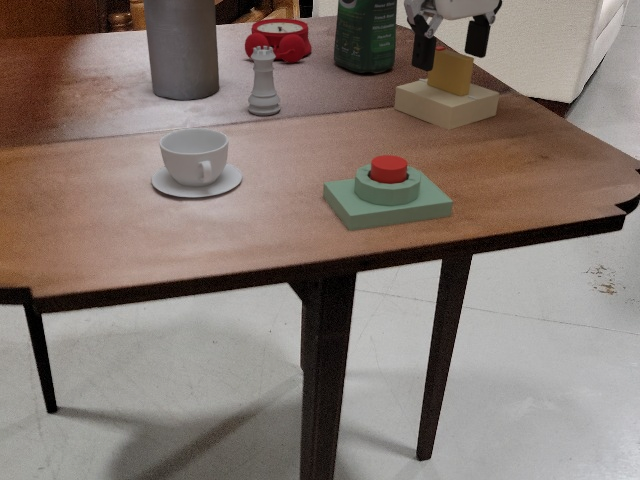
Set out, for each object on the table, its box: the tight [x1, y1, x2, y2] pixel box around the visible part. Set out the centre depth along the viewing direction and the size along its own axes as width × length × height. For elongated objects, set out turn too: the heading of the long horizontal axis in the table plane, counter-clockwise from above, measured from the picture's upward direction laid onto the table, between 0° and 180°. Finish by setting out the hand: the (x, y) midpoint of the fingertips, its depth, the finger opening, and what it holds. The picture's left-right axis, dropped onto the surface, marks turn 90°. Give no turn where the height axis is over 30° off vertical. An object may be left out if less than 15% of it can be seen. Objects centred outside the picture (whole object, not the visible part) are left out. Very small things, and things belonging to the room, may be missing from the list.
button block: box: [322, 163, 454, 232], centre depth 75 cm, size 11×8×4 cm
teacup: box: [151, 127, 243, 198], centre depth 80 cm, size 10×10×5 cm
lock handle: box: [427, 45, 475, 96], centre depth 95 cm, size 6×2×5 cm, turn 36°
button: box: [370, 154, 409, 184], centre depth 74 cm, size 4×4×2 cm
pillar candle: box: [142, 0, 220, 101], centre depth 101 cm, size 10×10×15 cm
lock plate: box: [393, 77, 500, 131], centre depth 97 cm, size 10×9×3 cm
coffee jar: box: [333, 0, 398, 74], centre depth 109 cm, size 10×8×19 cm
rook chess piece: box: [247, 46, 281, 117], centre depth 96 cm, size 4×4×8 cm
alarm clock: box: [244, 18, 313, 64], centre depth 118 cm, size 10×6×15 cm
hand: (448, 61), depth 94 cm, fingers open, 9 cm apart
